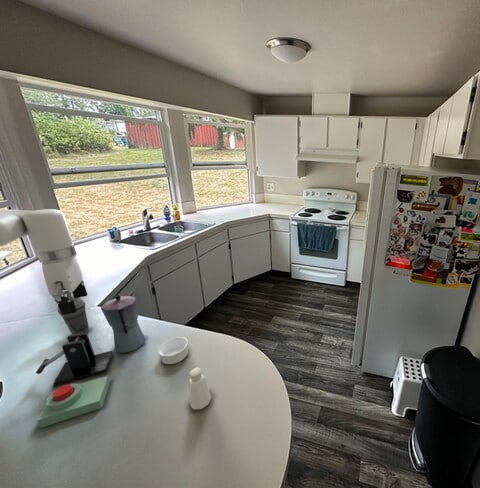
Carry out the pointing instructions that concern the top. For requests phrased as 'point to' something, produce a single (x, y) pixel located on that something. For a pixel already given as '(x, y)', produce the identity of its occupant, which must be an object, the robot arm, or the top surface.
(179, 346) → the ramekin
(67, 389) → the stop button
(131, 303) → the moka pot
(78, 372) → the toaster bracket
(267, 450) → the top surface
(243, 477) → the top surface
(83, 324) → the beverage cup
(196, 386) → the pepper shaker
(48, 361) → the lever
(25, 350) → the top surface
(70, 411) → the control block
